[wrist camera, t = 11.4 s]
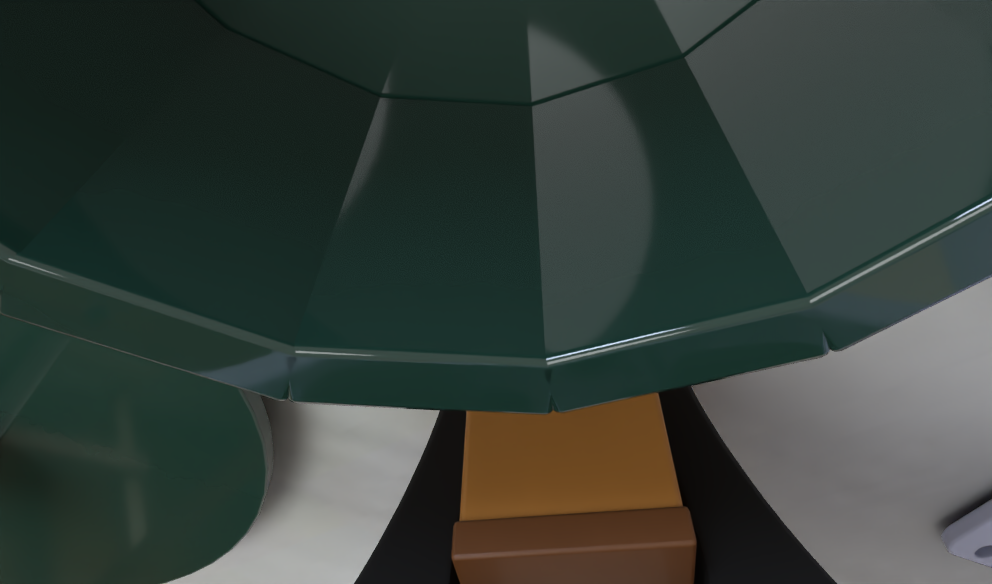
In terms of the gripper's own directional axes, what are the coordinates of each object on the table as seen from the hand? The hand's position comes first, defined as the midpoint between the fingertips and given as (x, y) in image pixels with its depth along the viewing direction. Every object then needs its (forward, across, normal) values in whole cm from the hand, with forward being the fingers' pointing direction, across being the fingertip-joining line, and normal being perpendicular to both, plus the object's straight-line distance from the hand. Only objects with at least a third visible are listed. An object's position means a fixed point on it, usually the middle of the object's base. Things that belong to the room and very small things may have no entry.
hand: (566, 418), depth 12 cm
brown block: (+1, 0, 0) cm, 1 cm away
